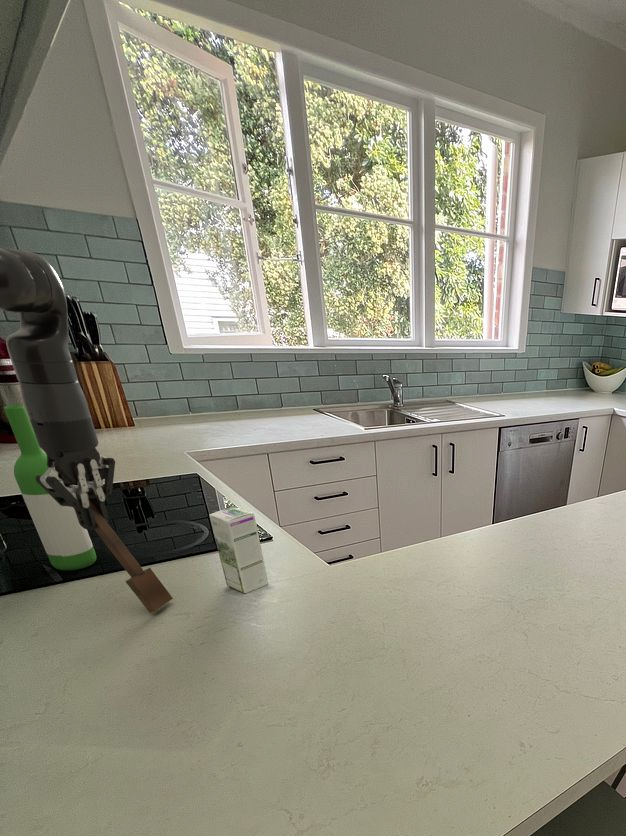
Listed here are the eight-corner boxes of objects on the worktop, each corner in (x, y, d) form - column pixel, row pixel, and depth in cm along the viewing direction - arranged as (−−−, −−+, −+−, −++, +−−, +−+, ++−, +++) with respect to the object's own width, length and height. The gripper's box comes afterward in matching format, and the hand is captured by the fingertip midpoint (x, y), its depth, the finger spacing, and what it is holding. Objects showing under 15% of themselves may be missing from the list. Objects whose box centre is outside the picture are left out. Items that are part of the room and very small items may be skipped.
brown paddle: (67, 507, 85) (72, 504, 85) (90, 498, 89) (96, 495, 89) (149, 613, 94) (155, 611, 93) (167, 600, 98) (173, 598, 97)
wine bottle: (70, 556, 114) (9, 402, 98) (106, 557, 114) (51, 403, 98) (43, 571, 107) (-27, 409, 91) (82, 573, 107) (18, 410, 91)
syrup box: (270, 584, 106) (256, 511, 98) (243, 594, 101) (226, 520, 94) (251, 576, 108) (236, 505, 101) (225, 586, 104) (207, 513, 96)
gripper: (73, 404, 86) (106, 510, 95) (-6, 419, 75) (40, 538, 84) (116, 409, 85) (145, 515, 95) (43, 425, 74) (84, 544, 83)
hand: (95, 525), depth 89 cm, fingers closed on brown paddle, 2 cm apart
